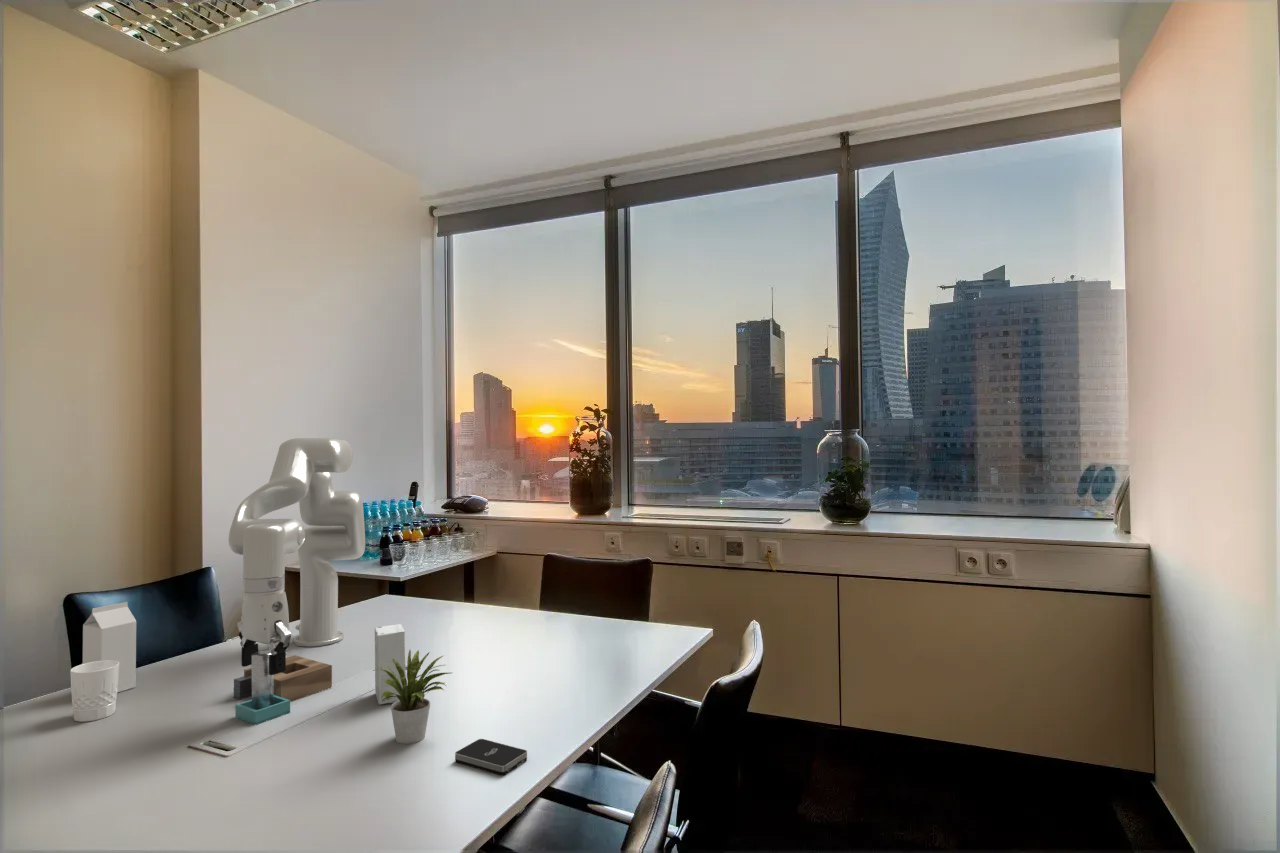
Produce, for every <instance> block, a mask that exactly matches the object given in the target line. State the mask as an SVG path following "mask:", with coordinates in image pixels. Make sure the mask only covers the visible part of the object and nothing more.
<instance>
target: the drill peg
mask: <svg viewBox="0 0 1280 853" xmlns="http://www.w3.org/2000/svg"><path fill="white" fill-rule="evenodd" d="M269 655H271V652H270V649H268V650H260V651H259V650H258V652H256V653H253V654H252V665H251V668H252V696H251V700H252V709H254V710H259V709H262V708H265V707H268V706H271V705H274V675H269Z"/></svg>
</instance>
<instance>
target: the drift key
mask: <svg viewBox="0 0 1280 853" xmlns="http://www.w3.org/2000/svg"><path fill="white" fill-rule="evenodd" d="M250 697H252V674H250V675H246V676H244V675H243V676H239V677H236V678H233V698H234V699H236V700H239V701H240V700H244V699H246V698H250ZM243 698H244V699H243Z"/></svg>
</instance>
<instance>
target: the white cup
mask: <svg viewBox="0 0 1280 853" xmlns="http://www.w3.org/2000/svg"><path fill="white" fill-rule="evenodd" d="M118 677H119V662H118V661H115V660H103V661H95V662H89V663H85V664H83V663H81V664H79V665H76V666H74V667H72V668H70V692H71V693H70V694H71V707H72V713H73V714H72V717H73V718H72V719H73V721H74V722H79V723H80V722H82V723H83V722H84V723H85V722H94V721H99V720H102V719H104V718H108V717H110V716H111V715H113V714H115V712H117V711H116V709H117V707H116V706H117V697H118V692H117V689H118Z"/></svg>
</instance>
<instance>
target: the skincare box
mask: <svg viewBox="0 0 1280 853" xmlns="http://www.w3.org/2000/svg"><path fill="white" fill-rule="evenodd" d="M405 633H406V631H405V629H404V628H403V625H402V624H401V623H398V624H397V623H396V624H391V625H389V624H388V625H382V626H375V627H374V670H375V671H374V678H375V679H374V681H375V682H374V683H375V684H374V686H375V688H374V689H375V695H376V696H375V697H376V700H377V703H378V705H385V704H391V703H392V704H393V703H395V702H397V701H399V699H398V698H397V696H396V695H395V694H397V695H399V693H398V692H397V690H396V689H395V688H394V687H392V686H390V685H388V684H386V683H385V682H384V681H385V680H388V679H391V680H393V679H392V678H391V677H390V676H389V675H388V674H387V673H386V672H385V671H383V670H382V669H381V668H383V669H385V670H387V671H389V672H390V673H392V672H391V671H390V669H391V670H392V671H393V672H394V673H395V675H396V676H397V678H398V680H399V682H400V684H401V687H402V689H403V686H402V683H401V679H400V675H399V672H398V670H397V669H396V666H395V663H393V659H394V660H396V661H397V662H398V663H399V664H400V666H401V667H402V669H403V671H404V674H405V677H406V678H407V670H406V646H405V644H406V642H405V641H406V639H405V636H406V634H405ZM388 661H390V662H388ZM384 665H386V666H388V667H389V668H390V669H389V668H388V667H386V666H384ZM379 667H380V668H379ZM392 674H393V673H392ZM393 675H394V674H393ZM395 675H394V676H395ZM397 678H396V679H397ZM385 691H389V692H392V693H394V695H390V696H396V697H391V698H388V699H385V700H383V699H384V698H385V697H382V695H383V693H384V692H385ZM381 697H382V698H381ZM382 700H383V701H382Z"/></svg>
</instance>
